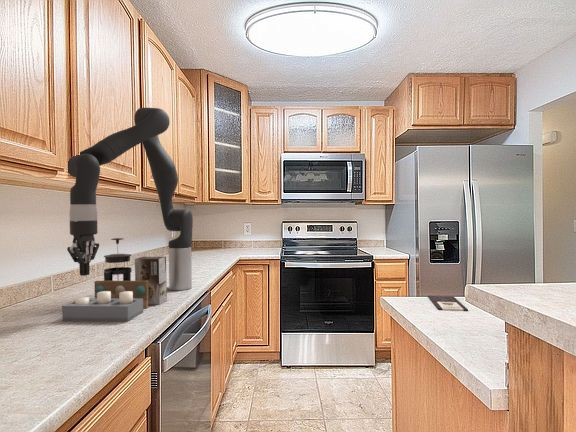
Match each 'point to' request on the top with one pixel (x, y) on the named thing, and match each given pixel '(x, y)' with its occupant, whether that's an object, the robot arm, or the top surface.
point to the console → (102, 311)
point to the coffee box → (153, 277)
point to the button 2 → (104, 297)
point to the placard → (124, 289)
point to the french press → (118, 270)
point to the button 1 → (82, 300)
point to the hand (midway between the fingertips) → (84, 275)
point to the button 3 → (126, 297)
